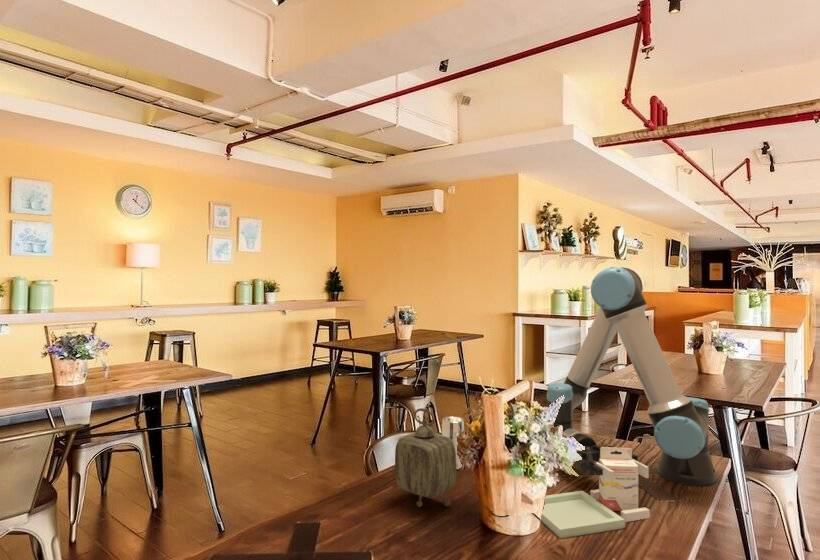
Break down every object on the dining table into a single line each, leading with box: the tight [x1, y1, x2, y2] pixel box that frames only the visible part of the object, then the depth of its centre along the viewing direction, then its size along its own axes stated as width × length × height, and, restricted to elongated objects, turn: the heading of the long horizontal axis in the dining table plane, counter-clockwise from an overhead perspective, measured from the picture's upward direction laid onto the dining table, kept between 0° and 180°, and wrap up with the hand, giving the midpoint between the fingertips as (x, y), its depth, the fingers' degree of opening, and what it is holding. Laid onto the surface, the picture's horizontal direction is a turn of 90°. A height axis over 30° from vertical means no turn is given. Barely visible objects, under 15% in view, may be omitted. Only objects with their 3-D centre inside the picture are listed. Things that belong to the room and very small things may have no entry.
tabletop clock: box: [394, 407, 457, 508], centre depth 136 cm, size 14×9×25 cm, turn 48°
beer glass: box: [441, 416, 465, 469], centre depth 161 cm, size 7×7×15 cm
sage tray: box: [541, 490, 626, 539], centre depth 128 cm, size 17×17×2 cm
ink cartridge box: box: [598, 446, 639, 512], centre depth 133 cm, size 9×5×15 cm, turn 84°
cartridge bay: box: [589, 488, 651, 523], centre depth 133 cm, size 7×14×2 cm, turn 15°
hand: (630, 474), depth 128 cm, fingers closed on ink cartridge box, 9 cm apart
